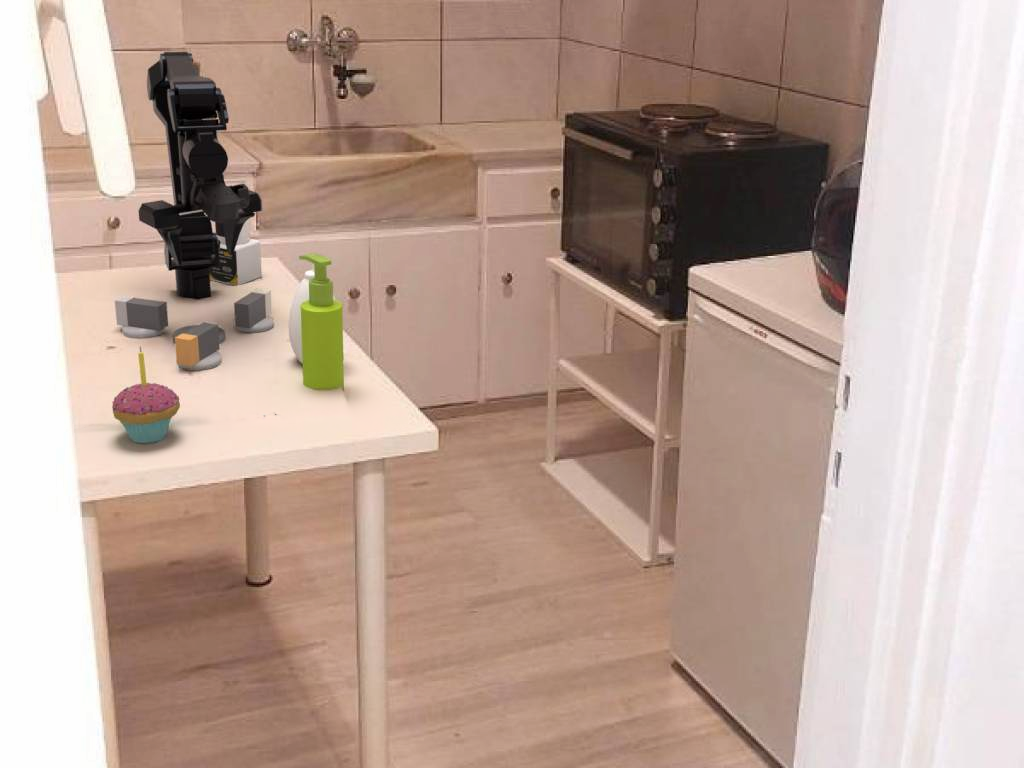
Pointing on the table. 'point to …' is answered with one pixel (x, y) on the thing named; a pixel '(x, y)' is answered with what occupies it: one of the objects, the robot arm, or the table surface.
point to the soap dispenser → (322, 331)
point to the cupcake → (145, 408)
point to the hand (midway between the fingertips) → (205, 259)
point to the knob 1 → (198, 347)
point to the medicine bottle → (237, 258)
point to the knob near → (141, 316)
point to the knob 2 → (254, 312)
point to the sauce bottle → (299, 313)
